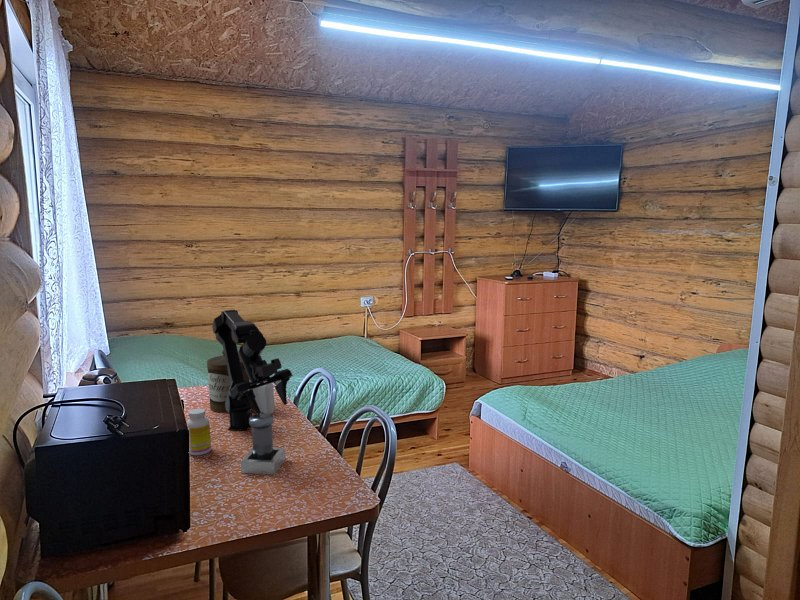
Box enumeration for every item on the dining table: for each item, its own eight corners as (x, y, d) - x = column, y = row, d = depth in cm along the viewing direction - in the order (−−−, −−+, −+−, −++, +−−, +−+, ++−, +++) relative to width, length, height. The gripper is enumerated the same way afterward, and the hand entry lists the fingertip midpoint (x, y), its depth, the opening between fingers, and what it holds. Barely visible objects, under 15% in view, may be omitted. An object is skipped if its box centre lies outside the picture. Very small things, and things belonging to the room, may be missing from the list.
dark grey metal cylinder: (248, 470, 158) (245, 421, 156) (256, 460, 165) (254, 413, 163) (271, 471, 158) (268, 422, 155) (278, 461, 164) (276, 413, 162)
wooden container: (201, 410, 208) (197, 352, 204) (228, 397, 221) (224, 343, 218) (233, 415, 202) (230, 355, 199) (259, 402, 216) (256, 346, 212)
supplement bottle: (215, 451, 172) (212, 410, 170) (194, 458, 167) (191, 416, 165) (204, 445, 176) (201, 405, 174) (184, 451, 172) (181, 411, 170)
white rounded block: (250, 409, 208) (248, 376, 206) (259, 406, 211) (258, 374, 209) (266, 415, 201) (264, 382, 199) (276, 412, 204) (274, 379, 203)
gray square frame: (241, 473, 157) (240, 461, 157) (253, 458, 167) (253, 446, 166) (274, 474, 156) (274, 462, 156) (285, 459, 166) (284, 448, 165)
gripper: (235, 359, 160) (256, 409, 157) (289, 344, 173) (310, 390, 170) (221, 374, 168) (241, 422, 164) (274, 358, 181) (294, 403, 177)
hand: (272, 409), depth 169 cm, fingers open, 9 cm apart
